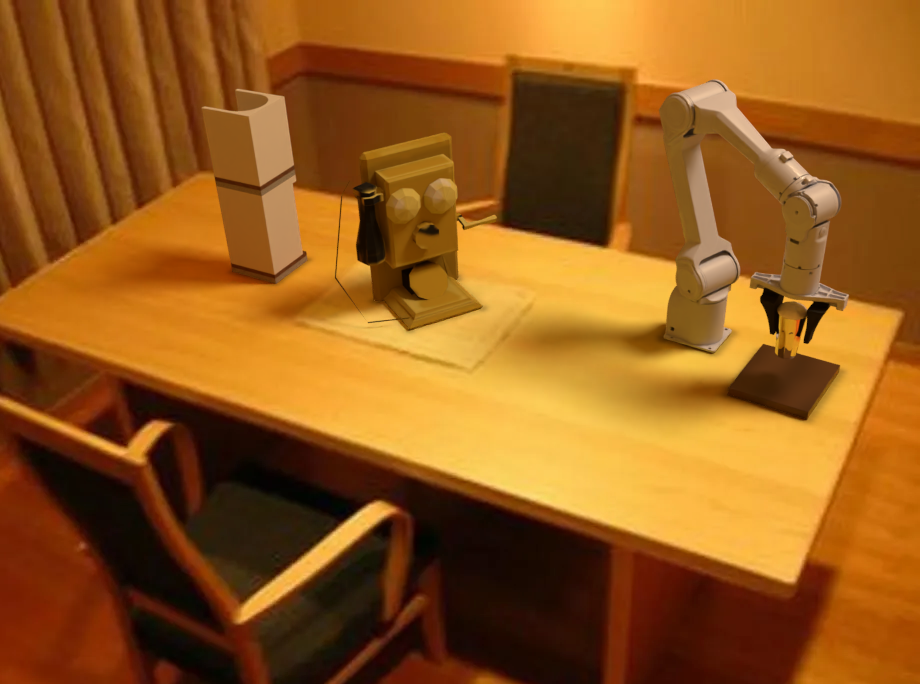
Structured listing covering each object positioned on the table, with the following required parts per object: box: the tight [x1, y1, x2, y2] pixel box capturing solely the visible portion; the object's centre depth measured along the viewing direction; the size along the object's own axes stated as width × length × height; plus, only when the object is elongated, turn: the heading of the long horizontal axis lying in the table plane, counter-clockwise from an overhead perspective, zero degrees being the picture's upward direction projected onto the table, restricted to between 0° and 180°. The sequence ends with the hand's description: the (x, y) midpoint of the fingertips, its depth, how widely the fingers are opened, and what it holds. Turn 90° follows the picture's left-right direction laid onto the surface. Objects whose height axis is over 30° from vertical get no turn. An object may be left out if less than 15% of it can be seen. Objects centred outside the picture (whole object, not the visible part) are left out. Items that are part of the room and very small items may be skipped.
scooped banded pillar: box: [201, 88, 308, 285], centre depth 212 cm, size 11×11×35 cm
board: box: [727, 343, 841, 420], centre depth 175 cm, size 13×15×2 cm
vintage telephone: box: [334, 132, 498, 330], centre depth 196 cm, size 31×14×30 cm, turn 114°
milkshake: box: [774, 300, 808, 359], centre depth 170 cm, size 4×5×10 cm
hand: (791, 336), depth 171 cm, fingers closed on milkshake, 5 cm apart
